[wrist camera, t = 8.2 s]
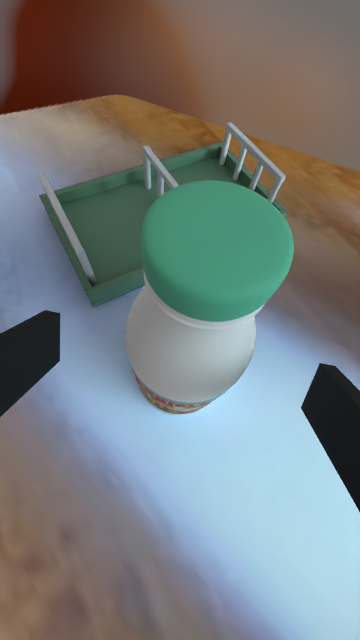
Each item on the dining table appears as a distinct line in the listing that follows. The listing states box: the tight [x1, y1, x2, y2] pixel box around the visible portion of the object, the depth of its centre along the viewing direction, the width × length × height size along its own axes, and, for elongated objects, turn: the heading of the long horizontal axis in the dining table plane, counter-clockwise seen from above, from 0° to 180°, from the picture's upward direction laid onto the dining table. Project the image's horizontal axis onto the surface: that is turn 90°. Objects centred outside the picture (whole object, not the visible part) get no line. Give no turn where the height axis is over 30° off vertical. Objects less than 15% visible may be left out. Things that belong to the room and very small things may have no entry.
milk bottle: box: [126, 180, 294, 415], centre depth 16 cm, size 8×8×20 cm
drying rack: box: [38, 122, 288, 307], centre depth 31 cm, size 27×16×6 cm, turn 120°
